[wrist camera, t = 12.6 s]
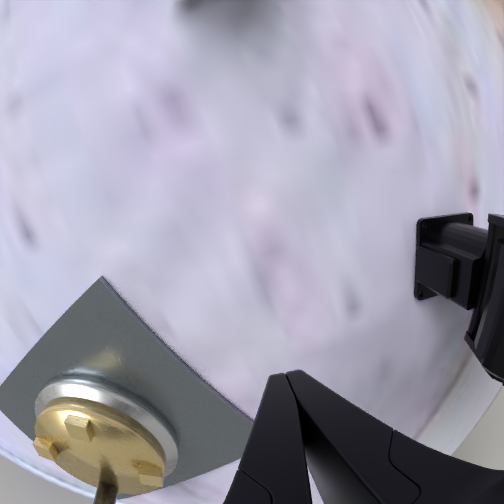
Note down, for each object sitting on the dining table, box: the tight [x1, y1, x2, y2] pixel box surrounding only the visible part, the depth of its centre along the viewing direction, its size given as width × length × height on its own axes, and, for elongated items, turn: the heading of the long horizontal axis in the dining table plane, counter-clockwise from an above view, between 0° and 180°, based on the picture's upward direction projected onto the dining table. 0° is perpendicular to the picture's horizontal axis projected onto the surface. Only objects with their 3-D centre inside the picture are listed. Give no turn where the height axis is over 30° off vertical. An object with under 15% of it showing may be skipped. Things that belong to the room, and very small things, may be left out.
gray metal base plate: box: [0, 276, 254, 499], centre depth 20 cm, size 24×20×2 cm
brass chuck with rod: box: [33, 396, 166, 504], centre depth 13 cm, size 12×12×12 cm
